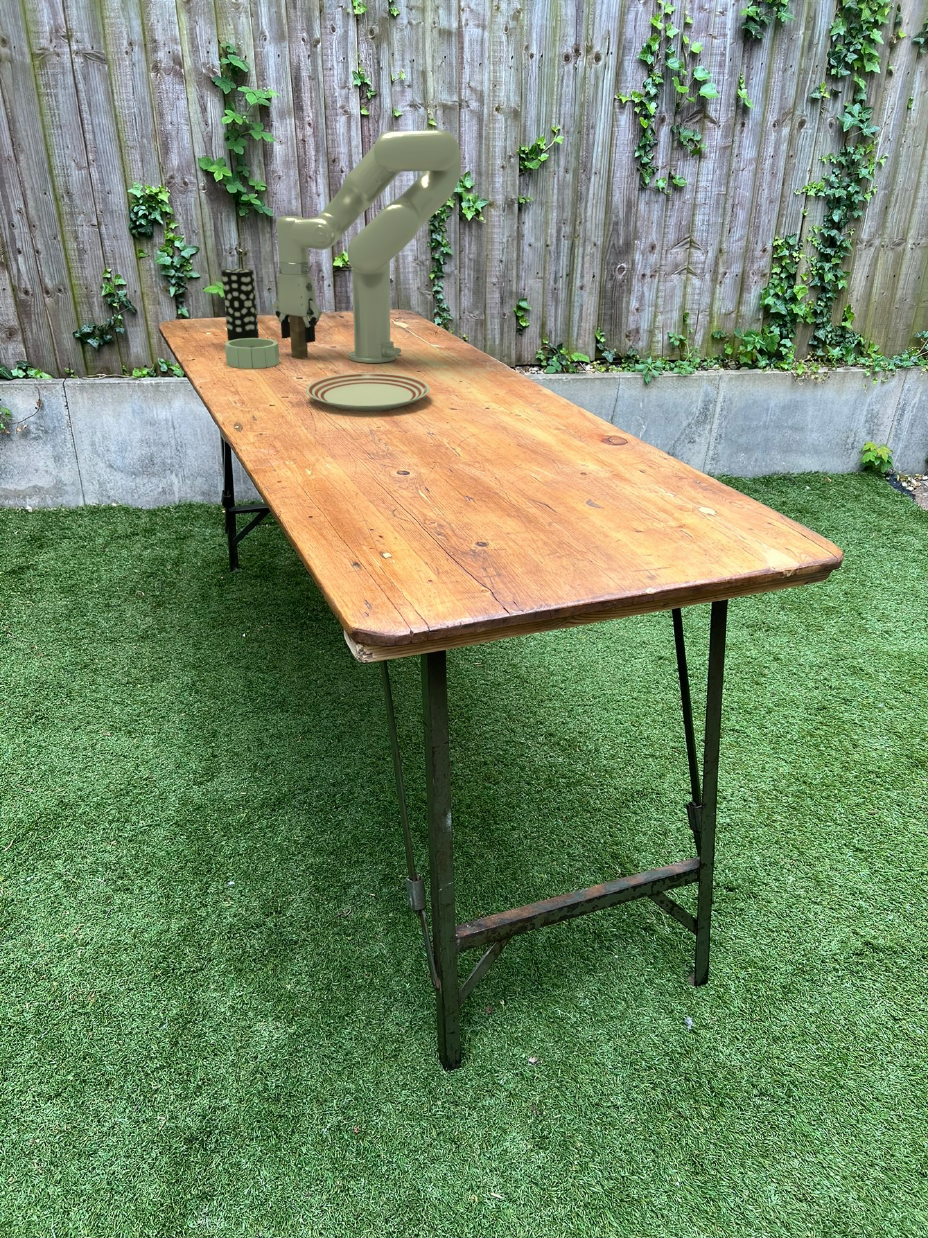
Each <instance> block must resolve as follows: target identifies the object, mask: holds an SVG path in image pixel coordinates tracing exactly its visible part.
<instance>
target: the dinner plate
mask: <svg viewBox="0 0 928 1238" xmlns="http://www.w3.org/2000/svg"><path fill="white" fill-rule="evenodd" d="M430 391H431V387H430V386H429V384H428V383H426V382H425V381H424V380H421V379H420V378H417V377H413V376H409V375H405V374H400V373H399V374H398V373H397V374H396V373H386V372H356V373H355V372H354V373H353V372H352V373H344V374H343V373H342V374H337V375H336V374H335V375H331V376H327V377H323V378H319V379H317V380H315V381H313V382H311V383H310V384H308V385H307V387H306V389H305V392H306V394H307V395H308V396H309V397H310V398H312V399H314V400H316V401H318V402H320V403H321V402H322V403H323V404H327V405H329V406H331V407H335V408H338V409H343V410H348V411H360V412H374V411H375V412H377V411H378V412H379V411H386V410H387V411H389V410H393V409H398V408H400V407H404V406H406V405H410V404H412V403H415V402H418V401H419V400H421V399H423V398H425V397H426V396H427V395H428V393H429V392H430Z"/></svg>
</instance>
